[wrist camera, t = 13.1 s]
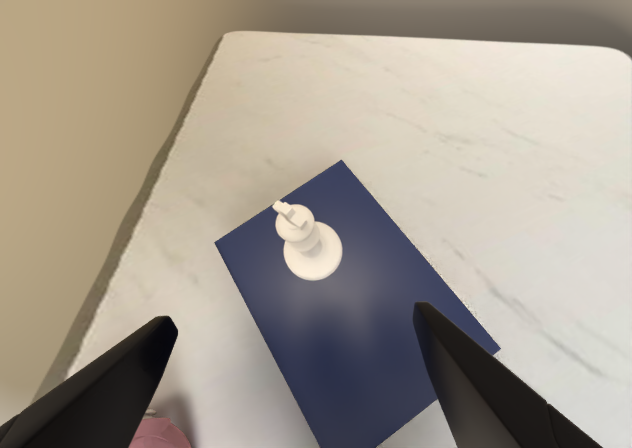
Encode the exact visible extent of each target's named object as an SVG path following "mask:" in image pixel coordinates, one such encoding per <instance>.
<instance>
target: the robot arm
mask: <svg viewBox="0 0 632 448" xmlns="http://www.w3.org/2000/svg"><path fill="white" fill-rule="evenodd" d="M413 325H414V329H415V332H416V335H417V339H418V342H419V346H420V349H421V353H422V356H423V359H424V363H425V366H426V369H427V372H428V375H429V378H430V380H431V383H432V385H433V388H434V390H435V393H436V395H437V398H438V400H439V403H440V405H441V408H442V410H443V412H444V415H445V417H446V420H447V422H448V425H449V427H450V430H451V432H452V435H453V437H454V440H455V442H456V445H457V447H458V448H603V447H602V446H600V445H599V444H598V443H597V442H595V441H594V440H593V439H592V438H591V437H589V436H588V435H587V434H586V433H584V432H583V431H582V430H581V429H580V428H578V427H577V426H576V425H575V424H573V423H572V422H571V421H570V420H569V419H567V418H566V417H565V416H564V415H563V414H561V413H560V412H559V411H558V410H557V409H555V408H554V407H553V406H552V405H551V404H547V402H546V400H545V399H543V398H542V397H541V396H540V395H539V394H537V393H536V392H535V391H534V390H533V389H532V388H530V387H529V386H528V385H527V384H526V383H524V382H523V381H522V380H521V379H520V378H518V377H517V376H516V375H515V374H514V373H513V372H511V371H510V370H509V369H508V368H507V367H505V366H504V365H503V364H502V363H501V362H499V361H498V360H497V359H496V358H495V357H493V356H492V355H491V354H490V353H489V352H488V351H486V350H485V349H484V348H483V347H482V346H480V345H479V344H478V343H477V342H476V341H474V340H473V339H472V338H471V337H470V336H469V335H467V334H466V333H465V332H464V331H463V330H461V329H460V328H459V327H458V326H457V325H455V324H454V323H453V322H452V321H451V320H450V319H448V318H447V317H446V316H445V315H444V314H442V313H441V312H440V311H439V310H438V309H436V308H435V307H434V306H433V305H432V304H431V303H429V302H427V301H418V302H415V304H414V310H413ZM177 336H178V329H177V327H176V326H175V324H174V322H173V321H172V319H171V318H170V317H169V316H158V317H155V318H154V319H152V320H151V321H149V322H148V323H147V324H145V325H144V326H142V327H141V328H139V329H138V330H137V331H135V332H134V333H132V334H131V335H130V336H128V337H127V338H125V339H124V340H122V341H121V342H120V343H118V344H117V345H115V346H114V347H112V348H111V349H110V350H108V351H107V352H105V353H104V354H103V355H101V356H100V357H98V358H97V359H95V360H94V361H93V362H91V363H90V364H88V365H87V366H86V367H84V368H83V369H81V370H80V371H78V372H77V373H76V374H74V375H73V376H71V377H70V378H68V379H67V380H66V381H64V382H63V383H61V384H60V385H59V386H57V387H56V388H54V389H53V390H51V391H50V392H49V393H47V394H46V395H44V396H43V397H42V398H40V399H39V400H37V401H36V402H34V403H33V404H32V405H30V406H29V407H27V408H26V409H24V410H23V411H22V412H21V413H20V414H18V415H16V416H14V417H13V418H12V419H10V420H9V421H7V422H6V423H5V424H3V425H2V426H1V427H0V448H129V446H130V444H131V442H132V440H133V438H134V435H135V433H136V431H137V429H138V427H139V425H140V423H141V421H142V419H143V417H144V415H145V412H146V410H147V408H148V406H149V404H150V402H151V400H152V398H153V396H154V394H155V391H156V389H157V387H158V385H159V383H160V381H161V378H162V376H163V373H164V371H165V368H166V365H167V363H168V360H169V358H170V355H171V352H172V350H173V347H174V344H175V342H176V339H177Z"/></svg>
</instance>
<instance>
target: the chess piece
mask: <svg viewBox="0 0 632 448" xmlns="http://www.w3.org/2000/svg"><path fill="white" fill-rule="evenodd" d="M272 207H273V209H274V210H275V211H277V212H278V213H279V214H278V216H277V219H276V230H277V233H278V234H279V236H280V237H281V238H283V239H284V240H286V241H285V244H284V258H285V261H286V263H287V265H288V267H289V269H290V270H291V271H292V272H293V273H294V274H295V275H297V276H298V277H300V278H302V279H305V280H320V279H323V278H326V277H327V276H329V275H331V274H332V273H333V272H334V271H335V270H336V268H337V267H338V265H339V263H340V261H341V258H342V244H341V241H340V238H339V236H338V235H337V233H336V232H335V231H334V230H333V229H332V228H331V227H329V226H328V225H326V224H324V223H321V222H315V221H314V216H313V214H312V212H311V211H310V210H309V209H308V208H306V207H305V206H302V205H297V204H295V205H289V204H288V203H286V202H284V203H282V202H281V201H279V200H277V201H276V203H275V204H274V205H273V206H272Z"/></svg>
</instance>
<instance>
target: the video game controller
mask: <svg viewBox="0 0 632 448" xmlns="http://www.w3.org/2000/svg"><path fill="white" fill-rule="evenodd" d="M154 414H156V412H155V411H154V410H152V409H149V410H146V412H145V415H144V417H143V419H142V421H141V423H140V425H139V427H138V429H137V431H136V433H135V435H134V438H133V440H132V442H131V444H130V446H129V448H191V446H190V443H189V441H188V439H187V437H186V436H185V434H184V433H183V432H182V431H181V430H180V429H179V428H178V427H176V426H175V425H173V424H171V420H170V418H154V417H152V415H154Z"/></svg>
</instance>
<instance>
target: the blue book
mask: <svg viewBox="0 0 632 448" xmlns="http://www.w3.org/2000/svg"><path fill="white" fill-rule="evenodd" d="M279 201H281V202H282V203H284V202H286V203H288V204H289V205H295V204H297V205H302V206H305V207H306V208H308V209H309V210H310V211H311V212H312V214H313V216H314V221H315V222H321V223H324V224H326V225H328V226H329V227H331V228H332V229H333V230H334V231H335V232H336V233H337V235H338V236H339V238H340V241H341V244H342V258H341V261H340V263H339V265H338V267H337V268H336V270H335V271H334V272H333V273H332V274H331V275H329V276H327V277H326V278H323V279H320V280H305V279H302V278H300V277H298V276H297V275H295V274H294V273H293V272H292V271H291V270H290V269H289V267H288V265H287V263H286V261H285V258H284V244H285V241H286V240H284V239H283V238H281V237H280V236H279V234H278V233H277V230H276V219H277V216H278V214H279V213H278V212H277V211H275V210H274V209H273V207H272V206H273V205H274V204H275V203H274V204H273V205H271V206H270V207H268V208H267V209H265V210H263V211H262V212H260V213H259V214H257V215H256V216H254V217H253V218H251V219H250V220H248V221H247V222H245V223H243V224H242V225H240V226H239V227H237V228H236V229H234V230H233V231H231V232H230V233H228V234H227V235H225V236H223V237H222V238H220V239H219V240H217V241H216V242H214V243H215V245H216V247H217V249H218V251H219V253H220V254H221V256H222V258H223V260H224V262H225V264H226V266H227V268H228V270H229V272H230V274H231V276H232V278H233V280H234V282H235V283H236V285H237V287H238V289H239V291H240V293H241V295H242V297H243V299H244V301H245V303H246V305H247V307H248V309H249V311H250V312H251V314H252V316H253V318H254V320H255V322H256V324H257V326H258V328H259V330H260V332H261V334H262V336H263V338H264V340H265V342H266V343H267V345H268V347H269V349H270V351H271V353H272V355H273V357H274V359H275V361H276V363H277V365H278V367H279V369H280V371H281V372H282V374H283V376H284V378H285V380H286V382H287V384H288V386H289V388H290V390H291V392H292V394H293V396H294V398H295V400H296V401H297V403H298V405H299V407H300V409H301V411H302V413H303V415H304V417H305V419H306V421H307V423H308V425H309V427H310V429H311V431H312V432H313V434H314V436H315V438H316V440H317V442H318V444H319V446H320V448H376V447H377V446H378V445H380V444H381V443H382V442H383V441H385V440H386V439H387V438H388V437H390V436H391V435H392V434H393V433H395V432H396V431H397V430H399V429H400V428H401V427H402V426H404V425H405V424H406V423H407V422H409V421H410V420H411V419H413V418H414V417H415V416H416V415H418V414H419V413H420V412H421V411H423V410H424V409H425V408H427V407H428V406H429V405H430V404H432V403H433V402H434V401H435V400H437V399H438V398H437V395H436V393H435V390H434V388H433V385H432V383H431V380H430V378H429V375H428V372H427V369H426V366H425V363H424V359H423V356H422V353H421V349H420V346H419V342H418V339H417V335H416V332H415V329H414V325H413V310H414V304H415V302H418V301H427V302H429V303H431V304H432V305H433V306H434V307H435V308H436V309H438V310H439V311H440V312H441V313H442V314H444V315H445V316H446V317H447V318H448V319H450V320H451V321H452V322H453V323H454V324H455V325H457V326H458V327H459V328H460V329H461V330H463V331H464V332H465V333H466V334H467V335H469V336H470V337H471V338H472V339H473V340H474V341H476V342H477V343H478V344H479V345H480V346H482V347H483V348H484V349H485V350H486V351H488V352H489V353H490V354H491V355H492V356H493V355H494V354H495V353H496V352H498V351H499V350H500V349H501V348H500V347H499V346H498V344H497V343H496V342H495V341H494V340H493V339H492V337H491V336H490V335H489V334H488V333H487V331H486V330H485V329H484V328H483V327H482V326H481V324H480V323H479V322H478V321H477V320H476V318H475V317H474V316H473V315H472V314H471V312H470V311H469V310H468V309H467V308H466V307H465V305H464V304H463V303H462V302H461V301H460V299H459V298H458V297H457V296H456V295H455V294H454V292H453V291H452V290H451V289H450V288H449V286H448V285H447V284H446V283H445V282H444V281H443V279H442V278H441V277H440V276H439V275H438V273H437V272H436V271H435V270H434V269H433V267H432V266H431V265H430V264H429V263H428V262H427V260H426V259H425V258H424V257H423V256H422V254H421V253H420V252H419V251H418V250H417V249H416V247H415V246H414V245H413V244H412V243H411V241H410V240H409V239H408V238H407V237H406V235H405V234H404V233H403V232H402V231H401V230H400V228H399V227H398V226H397V225H396V224H395V222H394V221H393V220H392V219H391V218H390V217H389V215H388V214H387V213H386V212H385V211H384V209H383V208H382V207H381V206H380V205H379V204H378V202H377V201H376V200H375V199H374V198H373V196H372V195H371V194H370V193H369V192H368V190H367V189H366V188H365V187H364V186H363V185H362V183H361V182H360V181H359V180H358V179H357V177H356V176H355V175H354V174H353V173H352V172H351V170H350V169H349V168H348V167H347V166H346V164H345V163H344V162H343V161H342V160H340V161H339V162H337V163H336V164H334V165H333V166H331V167H330V168H328V169H327V170H325V171H323V172H322V173H320V174H319V175H317V176H316V177H314V178H313V179H311V180H310V181H308V182H307V183H305V184H303V185H302V186H300V187H299V188H297V189H296V190H294V191H293V192H291V193H290V194H288V195H287V196H285V197H283V198H282V199H280V200H279Z"/></svg>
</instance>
